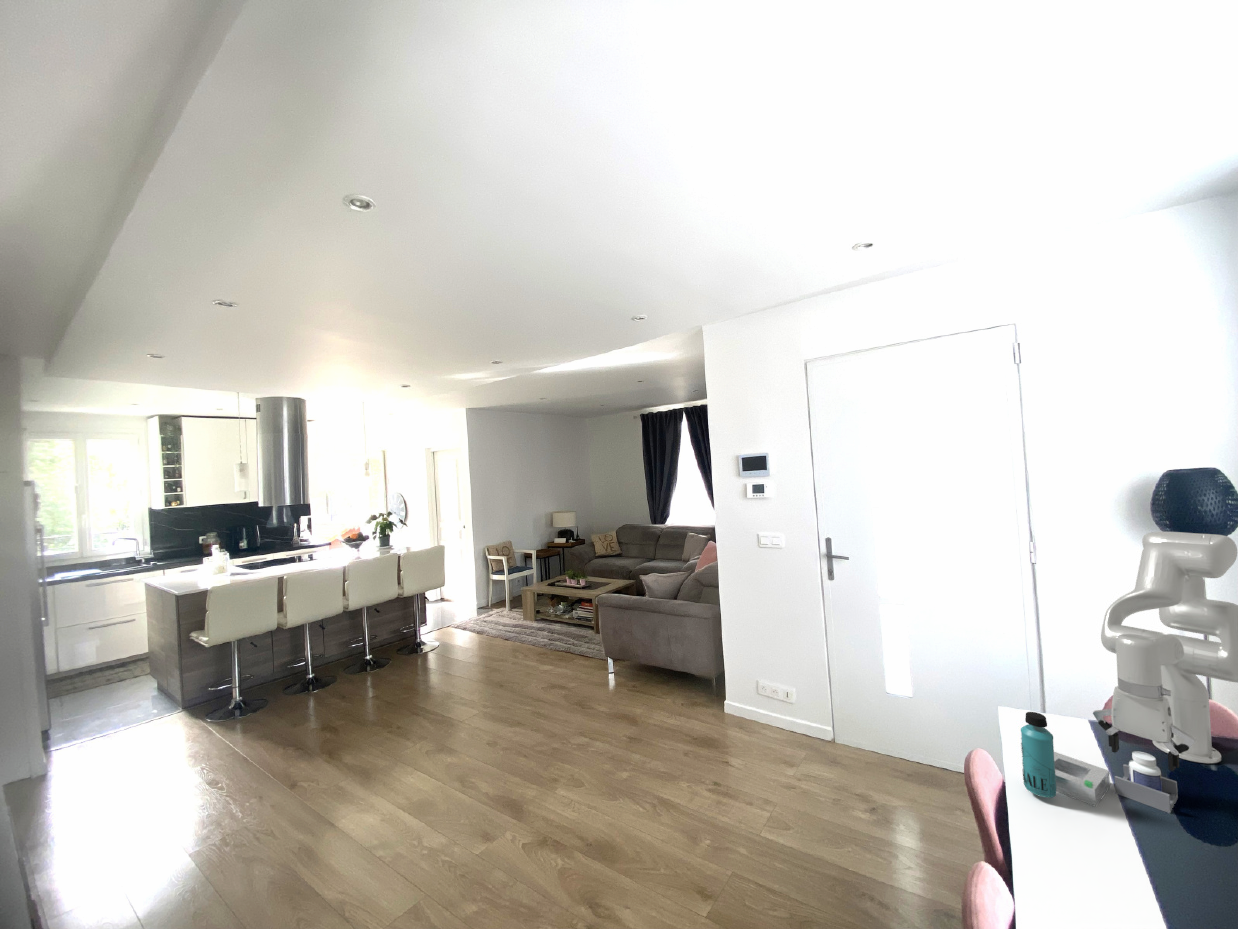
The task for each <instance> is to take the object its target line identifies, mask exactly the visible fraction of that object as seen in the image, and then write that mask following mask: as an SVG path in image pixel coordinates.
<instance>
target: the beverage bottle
mask: <svg viewBox="0 0 1238 929" xmlns="http://www.w3.org/2000/svg"><path fill="white" fill-rule="evenodd" d="M1024 721H1025V723H1026V725H1024V726H1022V727H1021V728H1020V735H1021V738H1020V741H1021V742H1020V749H1021V751H1020V752H1021V761H1022V762H1021V764H1022V767H1021V768H1022V777H1023V778H1022V780H1023V782H1022V783H1023V786H1024V788H1025V789H1026V790H1027V791H1028V792H1030V793H1031V794H1034V795H1036V796H1038V797H1043V798H1054V797H1056V796H1057V791H1056V777H1055V776H1056V774H1055V765H1054V752H1055V749H1054V748H1055V747H1054V735H1053V734H1052V733H1051V732H1050V731H1049V730H1048V729H1047V727H1048V721H1047V717H1046V716H1045V715H1044V714H1042V713H1039V712H1035V711H1027V712H1025V720H1024Z"/></svg>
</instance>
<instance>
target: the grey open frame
mask: <svg viewBox="0 0 1238 929" xmlns="http://www.w3.org/2000/svg"><path fill="white" fill-rule="evenodd" d="M1122 769H1123V770H1122V771H1123V772H1122V773H1123V777H1120V776H1117V775H1115V776H1114V789H1115V790H1114V791H1115V794H1116V795H1119V796H1121V797H1124V798H1128V799H1131V800H1132V801H1135V802H1137V803H1140V804H1141V803H1142V804H1144V805H1146V806H1148V807H1152V808H1155V809H1157V810H1159V811H1163V812H1165V813H1168V814H1171V812H1172V811H1173V809H1172V808H1174V807H1175V805H1174V804H1176V803H1177V800H1178V798H1179V796H1178V795H1179V794H1178V782H1177V781H1176V780H1173V779H1170V778H1169V777H1164V776H1162V775H1161V782H1162V792H1161V791H1158V790H1155V789H1152V788H1149V787H1146V786H1144V785H1141V784H1138V783H1135V782H1132V781H1130V775H1129V764H1125V763H1124V764H1123V765H1122Z"/></svg>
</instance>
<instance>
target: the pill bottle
mask: <svg viewBox="0 0 1238 929" xmlns="http://www.w3.org/2000/svg"><path fill="white" fill-rule="evenodd" d="M1131 754H1132V755H1131V758H1132V759H1130V760H1129V762H1128V765H1129V775H1130V781H1132V782H1135V783H1138V784H1141V785H1144V786H1146V787H1149V788H1152V789H1155V790H1158V791H1161V792H1162V782H1161V776H1162V772H1161V769H1160V767H1158V766H1157V759H1156V757H1155V756H1153V755H1152V754H1151V753H1147V752H1144V751H1138V750H1137V751H1136V750H1135V751H1132V752H1131Z"/></svg>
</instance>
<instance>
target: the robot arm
mask: <svg viewBox="0 0 1238 929" xmlns="http://www.w3.org/2000/svg"><path fill="white" fill-rule="evenodd" d="M1141 543H1142V551H1141V554H1140V555H1141V556H1140V561H1139V566H1138V571H1137V575H1136V576H1137V577H1136V581H1135V586H1134V589H1133V590H1132V591H1129V592H1128V593H1126V594H1124V595H1122V596H1120V597H1119V598H1117V599H1116V600H1115V601H1113V602H1112V604H1110V606H1108V608H1107V610H1106V611H1105V614H1104V617H1103V623H1102V627H1101V633H1100V641H1101V644H1102V646H1103V647H1104V649H1105V650H1107V651H1108V652H1110V653H1113V654H1116V672H1117V675H1116V676H1117V685H1116V686H1115V687H1114V690H1113V694H1112V702H1111V708H1105V709H1097V710H1093V711H1092V715H1093V716H1094V718H1095V720H1096V721H1097V724H1098V725H1099V726H1100V727H1101V728H1102V729H1103V730H1104V731H1105V733H1106V734H1107V735H1108V736H1107V737H1108V746H1109V747H1111V753H1112V752H1113V753H1114V754H1115V753H1117V752H1118V751H1119V750H1120V738H1119V735H1120V734H1119V733H1118V732H1119V731H1121V732H1122V733H1127V734H1130V735H1134V736H1136V737H1139V738H1143V739H1146V740H1150V741H1152V744H1153V745H1154V746H1155V747H1156V748H1158V749H1159V750H1160V751H1162V752H1164V753H1167V760H1168V761H1167V763H1168V770H1169V771H1171V772H1174V771H1175V769H1176V768H1178V769H1179V768H1180V759H1182V760H1186V761H1190V762H1194V763H1200V764H1201V763H1202V764H1218V763H1220V762H1221V761H1222V754H1221V753H1220V752H1219V750H1217V749H1215V748H1214V747H1213V746H1212V733H1211V732H1212V731H1211V728H1212V727H1211V712H1210V695H1209V691H1208V689H1207V687H1206V685H1205V684H1204V683H1203V681H1202V680H1201V679H1200V678H1199V677H1198V676H1202V677H1205V678H1210V679H1216V680H1220V681H1226V682H1229V683H1230V682H1231V683H1238V604H1235V603H1232V602H1229V601H1223V600H1216V599H1208V598H1206V596H1205V593H1206V592H1205V586H1206V583H1205V579H1218V578H1221V577H1223V576H1224V575H1226V573H1227V572H1228V571H1229V570H1230V568H1231V567H1233V565H1234V564H1235V562H1236V560H1237V558H1238V546H1237V544H1236V542H1235V541H1234V540H1233V539H1232V538H1231V537H1229V536H1227V535H1222V534H1214V533H1213V534H1212V533H1211V534H1210V533H1196V532H1195V533H1193V532H1185V531H1184V532H1180V531H1151V532H1148V533H1146V534H1145V533H1144V535H1143V537H1142V542H1141ZM1204 578H1205V579H1204ZM1157 609H1158V615H1159V616H1158V617H1159V620H1160V622H1161V623H1162V624H1163V625H1164V626H1166V627H1168V628H1170V629H1174V630H1179V631H1184V632H1187V633H1193V634H1194V633H1195V634H1200V635H1206V636H1211V637H1215V638H1218V639H1219V640H1220V642H1218V641H1213V640H1208V639H1207V640H1206V639H1202V638H1196V637H1192V636H1185V635H1180V634H1175V633H1174V634H1173V633H1166V632H1160V631H1155V630H1150V629H1145V628H1141V627H1140V628H1139V627H1134V626H1130V625H1129V626H1128V625H1123V622H1124V621H1125V619H1126V618H1128V617H1130V616H1132V615H1134V614H1137V613H1140V612H1144V611H1150V610H1157ZM1108 716H1110V718H1111V720H1110V721H1111V725H1110V723H1109V722H1108V721H1106V720H1105V718H1104V717H1108Z"/></svg>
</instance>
